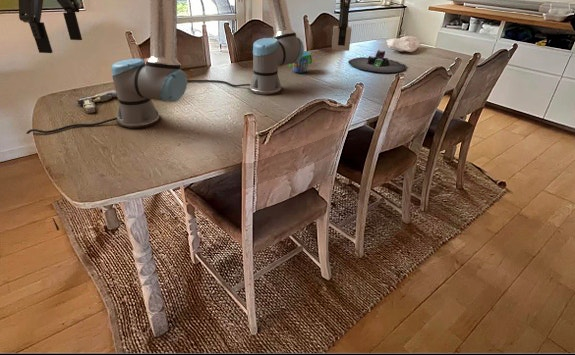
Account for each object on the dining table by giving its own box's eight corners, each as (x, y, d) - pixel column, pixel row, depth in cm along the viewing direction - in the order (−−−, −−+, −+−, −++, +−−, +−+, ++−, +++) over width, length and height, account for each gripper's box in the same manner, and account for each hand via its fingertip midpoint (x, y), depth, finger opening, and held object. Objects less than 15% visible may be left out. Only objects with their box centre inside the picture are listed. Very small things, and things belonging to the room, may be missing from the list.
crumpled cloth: (372, 47, 255) (376, 34, 249) (400, 41, 275) (404, 29, 269) (399, 60, 243) (404, 46, 237) (427, 52, 263) (432, 40, 257)
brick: (349, 50, 150) (351, 29, 146) (332, 50, 150) (334, 28, 146) (347, 47, 155) (350, 26, 150) (331, 46, 155) (333, 25, 151)
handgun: (128, 97, 156) (111, 87, 164) (86, 107, 144) (70, 97, 152) (129, 103, 157) (113, 94, 165) (88, 114, 146) (72, 103, 154)
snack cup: (305, 67, 213) (306, 49, 208) (316, 72, 206) (318, 53, 200) (283, 70, 206) (283, 52, 200) (293, 75, 198) (294, 56, 193)
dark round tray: (418, 67, 219) (420, 52, 215) (377, 75, 202) (379, 59, 197) (375, 58, 244) (377, 43, 239) (336, 64, 226) (337, 49, 222)
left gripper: (11, -57, 68) (48, 59, 79) (79, -56, 89) (100, 35, 100) (-29, -58, 68) (13, 58, 79) (48, -57, 89) (73, 34, 100)
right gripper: (359, -18, 131) (351, 49, 143) (354, -21, 147) (347, 39, 159) (339, -18, 131) (332, 48, 144) (336, -22, 147) (330, 38, 160)
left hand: (62, 45), depth 90 cm, fingers open, 13 cm apart
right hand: (340, 43), depth 151 cm, fingers closed on brick, 6 cm apart
